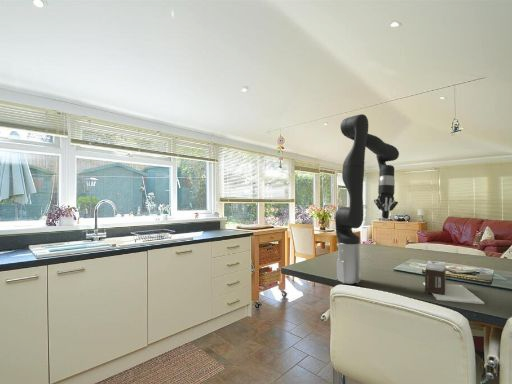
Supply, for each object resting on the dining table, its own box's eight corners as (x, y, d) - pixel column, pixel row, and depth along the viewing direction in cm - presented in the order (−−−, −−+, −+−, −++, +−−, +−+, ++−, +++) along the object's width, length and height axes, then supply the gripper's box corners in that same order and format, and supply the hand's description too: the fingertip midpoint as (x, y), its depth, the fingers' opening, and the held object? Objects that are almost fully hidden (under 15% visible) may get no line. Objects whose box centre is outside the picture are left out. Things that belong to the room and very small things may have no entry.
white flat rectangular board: (423, 283, 114) (423, 282, 114) (461, 286, 109) (461, 285, 110) (437, 300, 97) (437, 298, 97) (484, 304, 92) (484, 302, 92)
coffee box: (446, 283, 112) (445, 296, 99) (428, 280, 116) (424, 292, 103) (445, 261, 112) (444, 272, 99) (427, 259, 116) (424, 269, 103)
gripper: (379, 182, 133) (378, 217, 131) (402, 185, 135) (402, 219, 133) (370, 184, 140) (369, 217, 138) (392, 187, 142) (391, 219, 140)
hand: (385, 218), depth 135 cm, fingers closed
